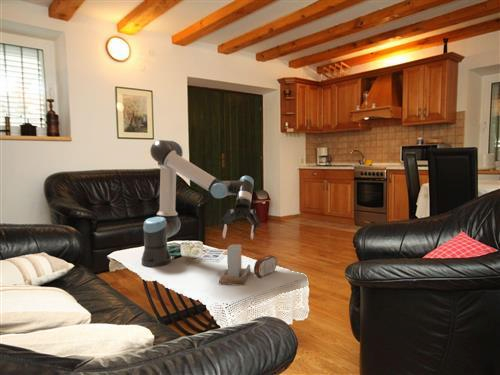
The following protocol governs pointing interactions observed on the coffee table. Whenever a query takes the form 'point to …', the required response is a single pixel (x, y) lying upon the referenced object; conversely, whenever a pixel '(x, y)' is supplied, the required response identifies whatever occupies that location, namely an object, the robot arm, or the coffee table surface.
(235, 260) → the carton
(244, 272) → the price rail
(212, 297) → the coffee table surface
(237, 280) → the shelf board
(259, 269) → the tin
